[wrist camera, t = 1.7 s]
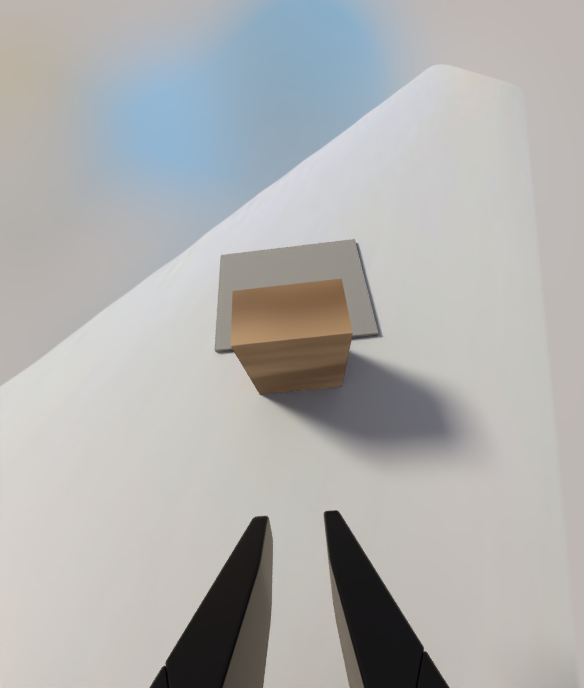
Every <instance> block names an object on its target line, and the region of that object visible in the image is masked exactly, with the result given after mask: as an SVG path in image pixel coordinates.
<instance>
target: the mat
mask: <svg viewBox="0 0 584 688" xmlns="http://www.w3.org/2000/svg"><path fill="white" fill-rule="evenodd" d="M341 278H342V282H343V287H344V292H345V297H346V302H347V307H348V312H349V317H350V322H351V327H352V332H353V334H352V338H354V337H363V336H373V335H378V330H377V326H376V322H375V318H374V314H373V310H372V306H371V302H370V298H369V294H368V290H367V286H366V282H365V278H364V274H363V270H362V266H361V262H360V258H359V254H358V250H357V246H356V242H355V239H352V240H344V241H335V242H327V243H319V244H310V245H302V246H294V247H285V248H277V249H269V250H260V251H252V252H244V253H235V254H227V255H221V260H220V276H219V291H218V307H217V322H216V337H215V351H216V352H220V351H230V350H233V349H232V347H231V319H232V291H236V290H245V289H254V288H262V287H271V286H280V285H289V284H298V283H306V282H315V281H324V280H333V279H341Z"/></svg>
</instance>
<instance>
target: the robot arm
mask: <svg viewBox="0 0 584 688" xmlns="http://www.w3.org/2000/svg"><path fill="white" fill-rule="evenodd" d="M324 522H325V532H326V541H327V551H328V560H329V569H330V578H331V588H332V597H333V605H334V612H335V617H336V623H337V628H338V633H339V637H340V642H341V647H342V652H343V657H344V662H345V667H346V672H347V677H348V681H349V686H350V688H449V686H448V684H447V683H446V681H445V680H444V678H443V677H442V675H441V674H440V672H439V671H438V669H437V667H436V666H435V664H434V663H433V661H432V659H431V658H430V656H429V655H428V653H427V652H426V651H424V647H423V645H422V644H421V642H420V640H419V639H418V637H417V636H416V634H415V632H414V631H413V629H412V628H411V626H410V624H409V623H408V621H407V620H406V618H405V616H404V615H403V613H402V612H401V610H400V608H399V607H398V605H397V604H396V602H395V600H394V599H393V597H392V596H391V594H390V592H389V591H388V589H387V588H386V586H385V584H384V583H383V581H382V580H381V578H380V576H379V575H378V573H377V572H376V570H375V568H374V567H373V565H372V564H371V562H370V560H369V559H368V557H367V556H366V554H365V552H364V551H363V549H362V548H361V546H360V544H359V543H358V541H357V540H356V538H355V536H354V535H353V533H352V532H351V530H350V528H349V527H348V525H347V524H346V522H345V520H344V519H343V517H342V516H341V514H340V513H339V511H337V510H334V511H325V512H324ZM272 566H273V538H272V532H271V526H270V521H269V518H268V516H257V517H254V518H253V519H252V521H251V522H250V524H249V526H248V527H247V529H246V531H245V532H244V534H243V536H242V537H241V539H240V540H239V542H238V544H237V545H236V547H235V549H234V550H233V552H232V554H231V555H230V557H229V559H228V560H227V562H226V563H225V565H224V567H223V568H222V570H221V572H220V573H219V575H218V577H217V578H216V580H215V582H214V583H213V585H212V586H211V588H210V590H209V591H208V593H207V595H206V596H205V598H204V600H203V601H202V603H201V604H200V606H199V608H198V609H197V611H196V613H195V614H194V616H193V618H192V619H191V621H190V623H189V624H188V626H187V627H186V629H185V631H184V632H183V634H182V636H181V637H180V639H179V641H178V642H177V644H176V646H175V647H174V649H173V650H172V652H171V654H170V655H169V657H168V659H167V660H166V666H163V667H162V668H161V670H160V671H159V673H158V675H157V676H156V678H155V680H154V681H153V683H152V685H151V686H150V688H263V683H264V674H265V665H266V657H267V648H268V639H269V631H270V621H271V606H272Z"/></svg>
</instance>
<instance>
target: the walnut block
mask: <svg viewBox="0 0 584 688" xmlns="http://www.w3.org/2000/svg"><path fill="white" fill-rule="evenodd" d="M352 334H353V332H352V327H351V322H350V317H349V312H348V307H347V302H346V297H345V292H344V287H343V282H342V278H341V279H333V280H324V281H315V282H306V283H298V284H289V285H280V286H271V287H262V288H254V289H245V290H236V291H232V319H231V347H232V349H233V351H234V352H235V354H236V356H237V357H238V359H239V361H240V362H241V364H242V366H243V367H244V369H245V371H246V372H247V374H248V376H249V377H250V379H251V381H252V382H253V384H254V386H255V387H256V389H257V391H258V392H259V394H269V393H279V392H290V391H300V390H310V389H320V388H330V387H341V386H342V383H343V378H344V373H345V368H346V363H347V359H348V354H349V349H350V344H351V339H352Z"/></svg>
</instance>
